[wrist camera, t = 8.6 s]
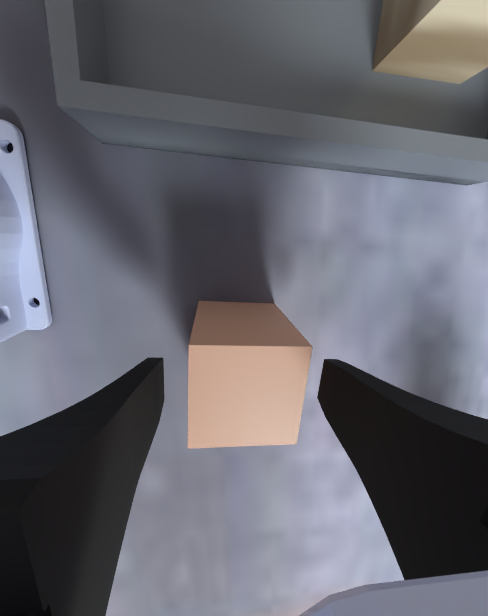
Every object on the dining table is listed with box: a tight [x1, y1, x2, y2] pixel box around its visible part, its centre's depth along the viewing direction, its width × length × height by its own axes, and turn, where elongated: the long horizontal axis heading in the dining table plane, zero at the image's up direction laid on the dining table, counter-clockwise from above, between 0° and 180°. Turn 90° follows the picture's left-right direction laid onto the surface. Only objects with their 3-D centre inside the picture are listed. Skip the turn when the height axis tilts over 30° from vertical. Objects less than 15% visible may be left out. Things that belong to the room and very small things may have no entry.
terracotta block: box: [188, 301, 312, 448], centre depth 12 cm, size 4×4×6 cm
